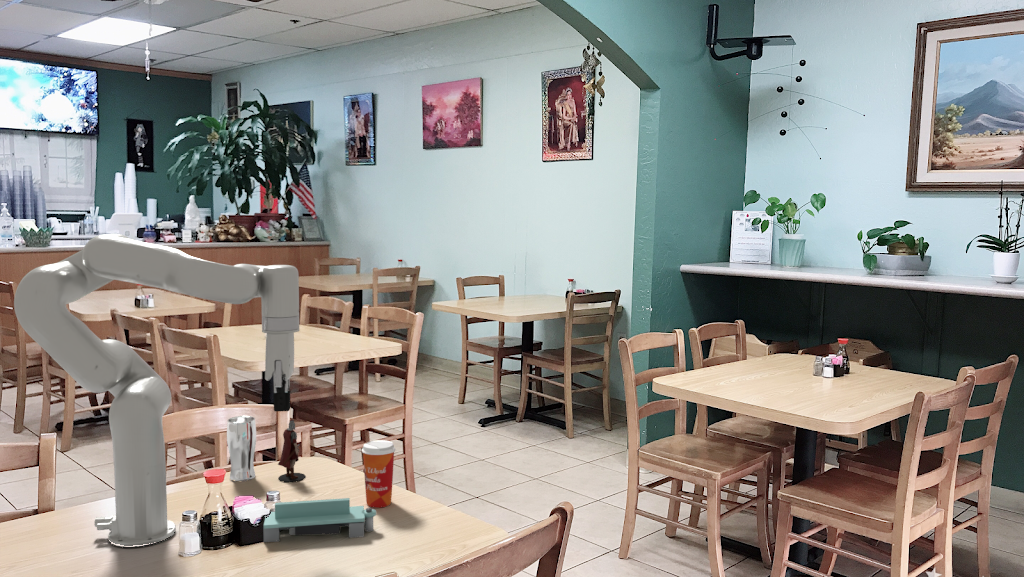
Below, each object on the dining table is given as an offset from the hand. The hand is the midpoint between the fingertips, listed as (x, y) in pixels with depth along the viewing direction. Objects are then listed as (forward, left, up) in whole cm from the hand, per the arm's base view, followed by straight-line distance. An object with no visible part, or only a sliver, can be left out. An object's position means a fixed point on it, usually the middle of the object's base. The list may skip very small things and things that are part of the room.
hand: (282, 410), depth 166 cm
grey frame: (+7, -5, -25) cm, 27 cm away
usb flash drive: (+8, -5, -25) cm, 27 cm away
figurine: (-2, +30, -25) cm, 39 cm away
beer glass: (-14, +32, -25) cm, 43 cm away
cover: (+8, -6, -22) cm, 24 cm away
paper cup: (+20, +10, -25) cm, 34 cm away
